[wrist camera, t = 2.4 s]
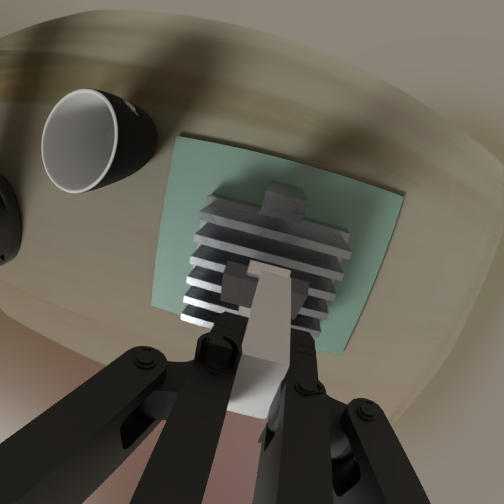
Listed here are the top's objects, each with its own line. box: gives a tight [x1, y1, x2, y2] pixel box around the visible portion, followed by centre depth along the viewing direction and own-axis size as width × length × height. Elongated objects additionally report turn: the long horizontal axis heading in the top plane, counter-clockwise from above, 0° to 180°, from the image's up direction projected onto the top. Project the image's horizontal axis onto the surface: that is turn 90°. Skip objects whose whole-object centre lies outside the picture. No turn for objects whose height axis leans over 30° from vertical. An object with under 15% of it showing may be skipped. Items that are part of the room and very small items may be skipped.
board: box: [151, 136, 404, 355], centre depth 31 cm, size 24×20×1 cm
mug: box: [41, 88, 157, 193], centre depth 24 cm, size 12×9×10 cm
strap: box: [220, 260, 310, 320], centre depth 22 cm, size 5×14×1 cm
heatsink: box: [181, 180, 352, 338], centre depth 27 cm, size 14×16×9 cm
